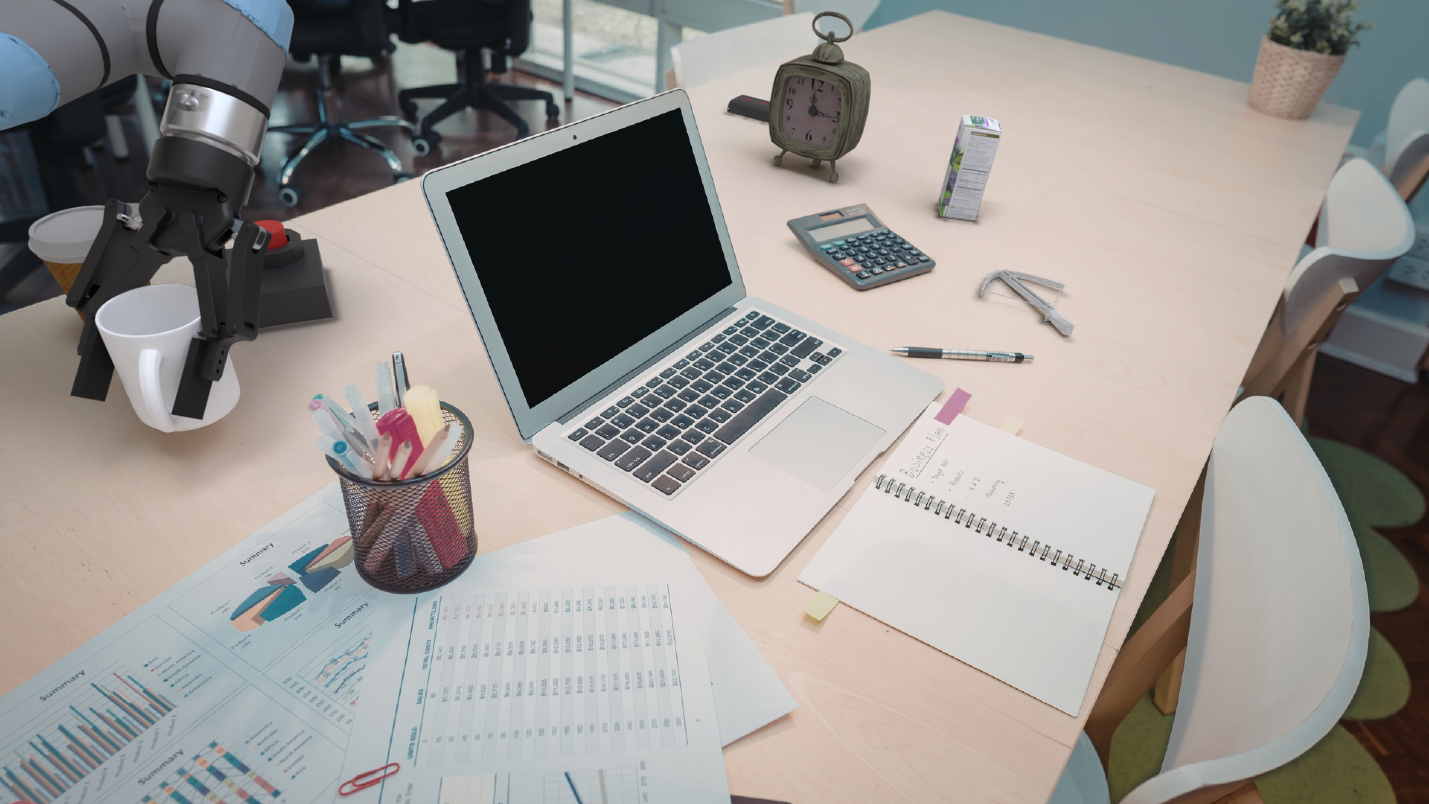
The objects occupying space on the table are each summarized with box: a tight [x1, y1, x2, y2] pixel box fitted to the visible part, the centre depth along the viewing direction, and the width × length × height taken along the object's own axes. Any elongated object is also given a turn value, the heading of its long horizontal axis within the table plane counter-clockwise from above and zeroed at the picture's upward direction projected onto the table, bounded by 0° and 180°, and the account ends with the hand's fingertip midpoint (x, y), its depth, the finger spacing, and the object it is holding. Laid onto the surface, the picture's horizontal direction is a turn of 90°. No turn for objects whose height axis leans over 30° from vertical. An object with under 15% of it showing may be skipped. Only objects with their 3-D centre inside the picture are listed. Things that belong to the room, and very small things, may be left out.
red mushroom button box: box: [225, 227, 334, 329], centre depth 93 cm, size 12×10×6 cm
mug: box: [95, 283, 241, 433], centre depth 69 cm, size 12×8×10 cm
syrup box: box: [937, 114, 1003, 222], centre depth 125 cm, size 6×6×14 cm
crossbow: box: [979, 269, 1075, 336], centre depth 107 cm, size 16×13×2 cm
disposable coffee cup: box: [27, 204, 152, 324], centre depth 85 cm, size 10×10×12 cm
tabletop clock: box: [768, 10, 872, 183], centre depth 132 cm, size 14×9×25 cm, turn 58°
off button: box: [253, 219, 288, 250], centre depth 93 cm, size 4×4×2 cm
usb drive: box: [726, 94, 770, 123], centre depth 159 cm, size 5×12×3 cm, turn 59°
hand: (137, 407), depth 67 cm, fingers closed on mug, 8 cm apart
